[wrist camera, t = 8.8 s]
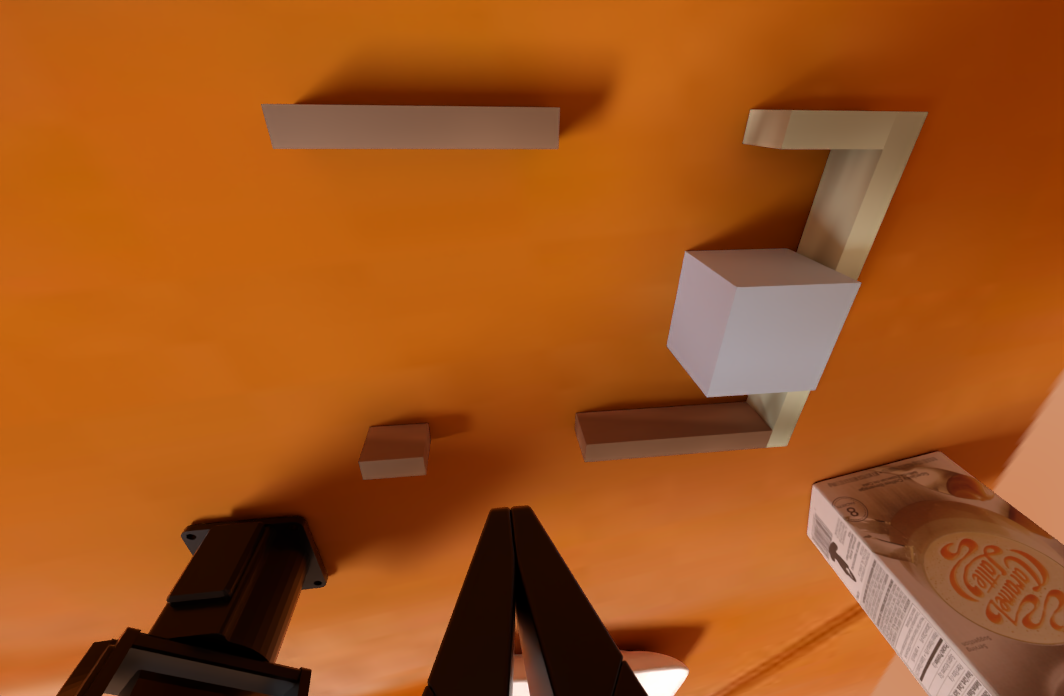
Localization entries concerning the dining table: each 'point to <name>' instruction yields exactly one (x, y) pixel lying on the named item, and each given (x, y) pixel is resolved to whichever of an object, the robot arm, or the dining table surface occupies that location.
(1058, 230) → the dining table surface
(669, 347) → the white cube
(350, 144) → the wooden pieces
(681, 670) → the salad plate
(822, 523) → the coffee box
